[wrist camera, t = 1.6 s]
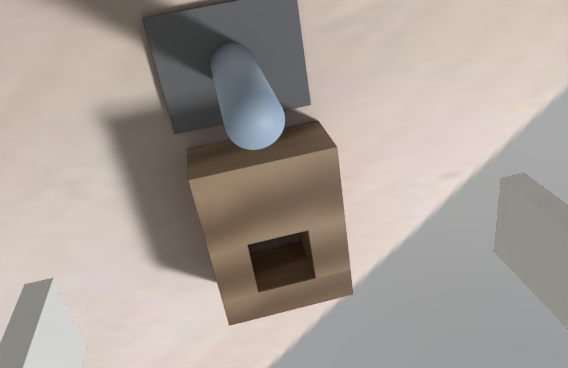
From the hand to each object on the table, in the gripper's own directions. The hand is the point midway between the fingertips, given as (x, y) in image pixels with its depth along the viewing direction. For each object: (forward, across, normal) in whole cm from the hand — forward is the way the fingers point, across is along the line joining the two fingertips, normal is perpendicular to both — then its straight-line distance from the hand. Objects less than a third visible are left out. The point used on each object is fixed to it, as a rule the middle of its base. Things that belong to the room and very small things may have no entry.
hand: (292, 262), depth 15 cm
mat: (+23, 0, 0) cm, 23 cm away
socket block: (+23, +1, -12) cm, 26 cm away
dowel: (+22, 0, 0) cm, 22 cm away
